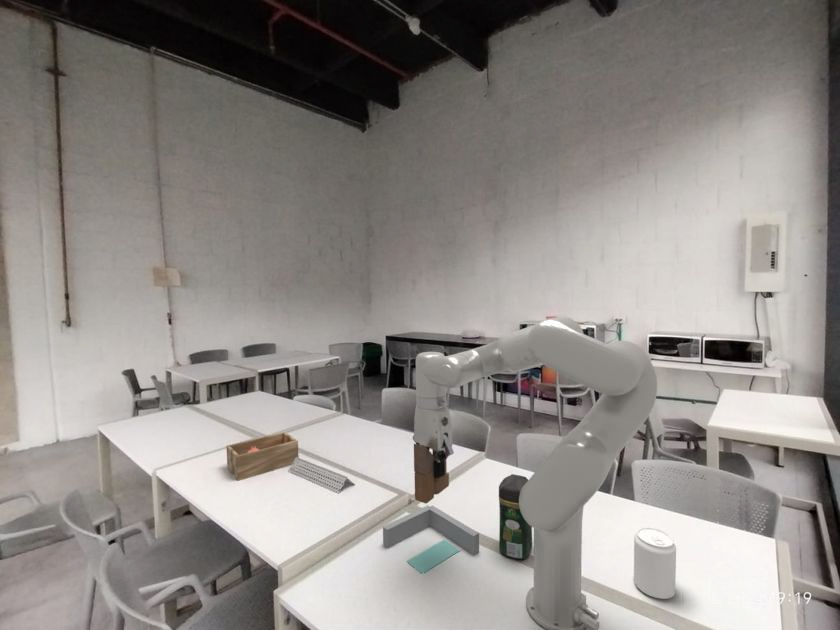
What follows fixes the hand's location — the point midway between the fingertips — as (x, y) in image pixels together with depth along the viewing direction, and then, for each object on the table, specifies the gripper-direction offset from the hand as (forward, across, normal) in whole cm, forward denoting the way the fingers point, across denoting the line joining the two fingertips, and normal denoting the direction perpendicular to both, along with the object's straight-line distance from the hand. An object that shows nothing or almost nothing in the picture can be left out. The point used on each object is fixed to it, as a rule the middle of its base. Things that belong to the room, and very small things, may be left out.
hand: (432, 472), depth 101 cm
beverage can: (+22, -41, -30) cm, 55 cm away
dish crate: (+22, +85, +14) cm, 89 cm away
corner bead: (+23, +60, +2) cm, 64 cm away
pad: (+22, 0, 0) cm, 22 cm away
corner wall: (+22, +3, -2) cm, 22 cm away
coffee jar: (+22, -12, -18) cm, 31 cm away
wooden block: (+6, 0, 0) cm, 6 cm away
